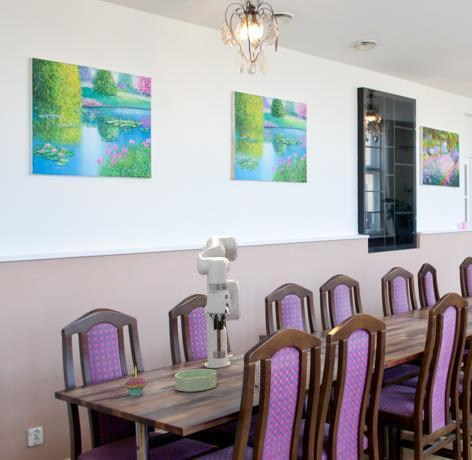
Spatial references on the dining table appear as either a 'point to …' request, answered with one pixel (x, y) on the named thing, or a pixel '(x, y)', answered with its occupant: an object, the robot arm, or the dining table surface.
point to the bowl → (195, 380)
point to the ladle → (218, 345)
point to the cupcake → (135, 385)
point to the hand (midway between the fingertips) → (218, 329)
